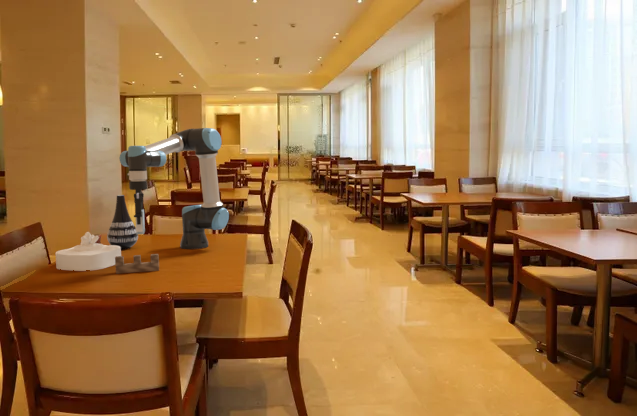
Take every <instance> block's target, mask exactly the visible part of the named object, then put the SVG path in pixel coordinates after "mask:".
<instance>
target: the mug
mask: <svg viewBox="0 0 637 416" xmlns="http://www.w3.org/2000/svg"><path fill="white" fill-rule="evenodd" d="M90 234H91V235H94V236H99V239H98V240H97V241H96V242H95V243H98V244H102V243H101V239H102V234H101V233H90ZM83 236H85V234H84V235H83Z"/></svg>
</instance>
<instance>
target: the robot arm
mask: <svg viewBox="0 0 637 416" xmlns="http://www.w3.org/2000/svg"><path fill="white" fill-rule="evenodd" d="M220 134H221V133H219V132H218V130H217V129H215V128H212V127H203V128H202V127H201V128H200V127H199V128H187V129H184V130H181V131H178V132H176V133H174V134H170V136H169V137H168V138H165V139H162V140H159V141H155V142H153V143H150V144H146V145H130V146H128V149H127V150H124V151H122V152H121V153H120V154H119V163H120V165H122V166H123V167H127V168H128V173H127V176H128V180H129V182H128V183H129V184H128V185H129V186H128V187H129V190H132V191H135V193H133V200H134V211H135V212H134V214H133V218H135V227H136V232H143V227H142V209H144V193H143V191H144V190H147V189H148V181H147V180H148V171H147V170H148V169H147V168H159V167H163V166H165V165H166V163H167V155H170V154H172V153H181V152H185V151H186V152H189V151H190V152H191V151H192V152H195V153H194V155H195V156H196V157H197V158H198V162H199V171H200V180H201V192H202V199H203V203H202V204H195V205H188V206H184V207H182V209H181V219H182V222H181V223H182V235H181V240H180V243H179V244H180V246H179V247H180V249H182V250H183V249H184V250H199V249H204V248H205V249H206V248H208V247H209V240H208V238H207V235H206V232H205V229H206V230H214V231H217V230H222V229H225V228H226V226H227V224H228V223H229V219H230V213H229V211H228V209H227V208H225V207H224V203H223V202H222V201H221V199H220V188H219V178H218V170H217V168H218V167H217V161H216V160H217V159H216V158H217V157H216V156H217V155H218V153H219V150H221V147H222V136H221V135H220ZM145 214H146V212H145V211H144V215H145Z"/></svg>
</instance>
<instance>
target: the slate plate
mask: <svg viewBox="0 0 637 416" xmlns="http://www.w3.org/2000/svg"><path fill="white" fill-rule="evenodd" d="M144 212H145V209H144V208H143V209H142V227H143V232H136V233H137V234H138V235H144V234H145V232H146V228H145V226H146V225H145V214H144Z"/></svg>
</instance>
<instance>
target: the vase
mask: <svg viewBox="0 0 637 416" xmlns="http://www.w3.org/2000/svg"><path fill="white" fill-rule="evenodd" d="M128 210H129V209H128V208H127V203H126V199H125V195H124V194H118V195H117V194H116V202H115V210H114V215H113V217H112V221H111V223H110V226H109V228H108V230H107V235H106V239H107V242H108V243H109V245H117V246H120V247H121V251H122V250H128V249H130V248H132V247H134V245H135V244H137V242H138V239H139V234H137V233H136V224H134V222H133V220H132V218H131V216H130V213H129V211H128Z"/></svg>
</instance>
